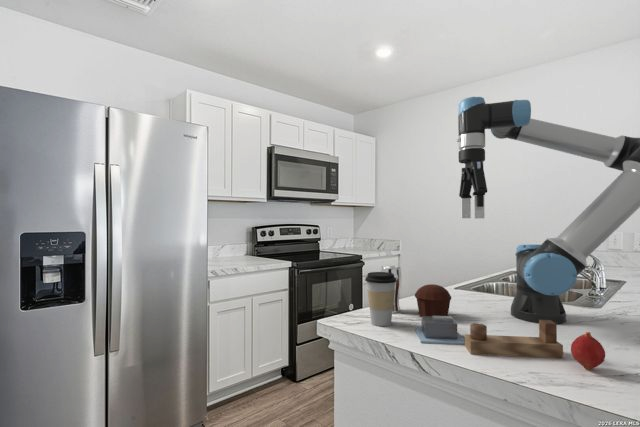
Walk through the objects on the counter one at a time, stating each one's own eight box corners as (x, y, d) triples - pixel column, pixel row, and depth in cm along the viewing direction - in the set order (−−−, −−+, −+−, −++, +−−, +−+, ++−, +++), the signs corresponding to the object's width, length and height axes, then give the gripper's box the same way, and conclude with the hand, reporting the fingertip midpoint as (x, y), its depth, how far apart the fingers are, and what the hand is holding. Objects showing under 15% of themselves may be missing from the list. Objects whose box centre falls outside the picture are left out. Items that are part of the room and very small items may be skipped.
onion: (564, 364, 77) (563, 327, 77) (588, 363, 77) (588, 326, 77) (586, 376, 71) (586, 336, 71) (612, 375, 71) (612, 335, 71)
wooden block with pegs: (551, 350, 85) (551, 319, 85) (563, 358, 80) (562, 325, 80) (464, 346, 87) (464, 316, 87) (470, 354, 82) (470, 322, 83)
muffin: (434, 310, 122) (434, 281, 122) (459, 318, 112) (459, 286, 112) (407, 314, 117) (407, 284, 117) (430, 323, 107) (430, 290, 107)
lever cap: (451, 331, 97) (451, 314, 97) (457, 339, 91) (457, 320, 91) (421, 330, 98) (421, 313, 98) (425, 338, 92) (425, 319, 92)
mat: (455, 330, 99) (455, 329, 99) (465, 344, 88) (465, 342, 88) (415, 329, 101) (415, 327, 101) (420, 342, 90) (420, 341, 90)
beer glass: (389, 314, 116) (389, 269, 116) (376, 309, 122) (376, 266, 122) (405, 311, 119) (405, 267, 119) (392, 307, 125) (392, 265, 126)
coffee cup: (397, 329, 101) (396, 276, 101) (364, 327, 103) (363, 275, 103) (396, 319, 110) (396, 271, 110) (366, 318, 112) (366, 271, 112)
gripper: (449, 156, 121) (450, 218, 121) (470, 141, 96) (471, 218, 96) (472, 156, 120) (472, 218, 120) (499, 140, 95) (500, 218, 95)
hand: (472, 218), depth 108 cm, fingers open, 13 cm apart
